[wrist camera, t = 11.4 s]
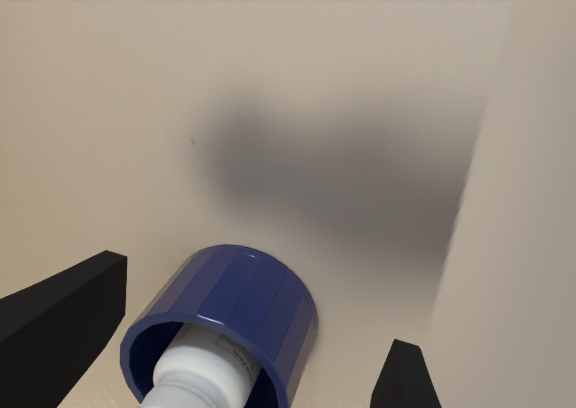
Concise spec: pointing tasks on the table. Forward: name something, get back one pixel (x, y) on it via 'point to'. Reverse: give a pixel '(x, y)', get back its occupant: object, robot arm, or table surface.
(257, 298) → the bowl
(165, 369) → the pill bottle
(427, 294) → the table surface
